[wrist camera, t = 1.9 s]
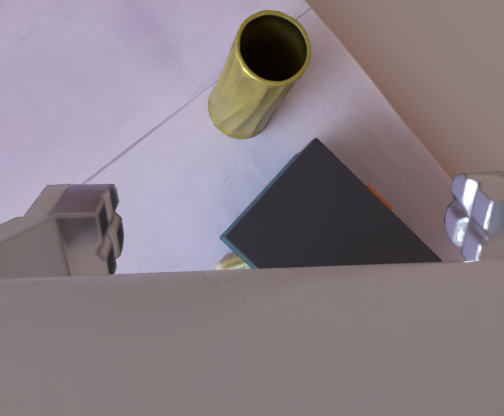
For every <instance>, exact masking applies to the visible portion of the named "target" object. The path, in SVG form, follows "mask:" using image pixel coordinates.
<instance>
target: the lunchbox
mask: <svg viewBox="0 0 504 416" xmlns="http://www.w3.org/2000/svg"><path fill="white" fill-rule="evenodd" d="M391 210H392V207H391V206H390V205H389V204H388V203H387V202H386V201H384V200H383V199H382V198H381V197H380V196H379V195H378V194H377V193H376V192H375V191H374V190H373V189H372V188H371V187H370V186H369V185H367V186H365V185H364V184H363V183H362V182H361V181H360V180H359V179H358V178H357V177H356V176H355V175H354V174H353V173H352V172H351V171H350V170H349V169H348V168H347V167H346V166H345V165H344V164H343V163H342V162H341V161H340V160H339V159H338V158H337V157H336V156H335V155H334V154H333V153H332V152H331V151H330V150H328V149H327V148H326V147H325V146H324V145H323V144H322V143H321V142H320V141H319V140H318V139H317V138H315V139H314V140H312V141H311V142H310V143H309V144H308V145H307V146H306V147H305V148H304V150H302V151H301V152H299V153H298V154H296V155H295V156H294V157H293V158H292V159H291V160H290V161H289V163H288V164H287V165H286V166H285V167H284V168H283V169H282V170H281V171H280V172H279V173H278V175H277V176H276V177H275V178H274V179H273V180H272V181H271V182H270V183H269V184H268V185H267V186H266V188H265V189H264V190H263V191H262V192H261V193H260V194H259V195H258V196H257V197H256V198H255V199H254V201H253V202H252V203H251V204H250V205H249V206H248V207H247V208H246V209H245V210H244V211H243V213H242V214H241V215H240V216H239V217H238V218H237V219H236V220H235V221H234V222H233V223H232V224H231V226H230V227H229V228H228V229H227V230H226V231H225V232H224V233H223V234H222V235H221V236H220V239H221V240H222V241H223V242H224V243H225V244H226V245H227V246H228V247H229V248H230V249H231V250H233V251H234V252H235V253H236V254H237V255H238V256H239V257H240V258H241V259H242V260H243V261H244V262H245V263H247V264H248V265H249V266H250V267H251V268H252V269H266V268H293V267H320V266H346V265H373V264H400V263H427V262H442V260H441V259H440V258H439V257H438V256H437V255H436V254H435V253H434V252H433V251H432V250H431V249H430V248H429V247H428V246H427V245H426V244H424V243H423V242H422V241H421V240H420V239H419V238H418V237H417V236H416V235H415V234H414V233H413V232H412V231H411V230H410V229H409V228H408V227H407V226H406V225H405V224H404V223H403V222H402V221H401V220H400V219H399V218H398V217H397V216H396V215H395V214H394V213H393V212H392V211H391Z"/></svg>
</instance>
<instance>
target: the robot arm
mask: <svg viewBox="0 0 504 416" xmlns="http://www.w3.org/2000/svg"><path fill="white" fill-rule="evenodd" d="M450 192H451V194H452V196H453V197H454V200H453V201H452V202H451V203H450V204H449V205H448V206H447V207H446V212H445V218H444V223H445V231H446V234H447V237H448V239H449V240H450V241H451V243H452V244H454V245H456V246H458V247H460V248H462V250H461V254H460V255H461V256H462V257H463V258H464V260H465V261H454V262H427V263H400V264H373V265H346V266H320V267H293V268H266V269H239V270H212V271H185V272H159V273H132V274H115V271H116V268H117V266H116V260H115V259H116V258H118V257H119V256H121V252H122V249H123V240H124V233H123V223H122V218H121V217H120V216H119V215H118V214H117V213H116V212H115V211H116V208H117V206H118V203H119V199H118V194H117V189H116V187H115V185H114V184H72V185H70V184H58V185H47V186H46V187H45V188H44V190H43V191H42V192H41V194H40V195H39V196H38V198H37V199H36V200H35V202H34V203H33V204H32V206H31V207H30V208H29V210H28V211H27V212H26V214H25V215H24V216H23V217H16V218H13V219H11V220H9V221H7V222H5V223H2V224H0V416H504V172H501V171H496V172H478V173H461V174H458V175H456V176H455V177H454V179H453V181H452V185H451V189H450Z"/></svg>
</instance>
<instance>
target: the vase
mask: <svg viewBox="0 0 504 416" xmlns="http://www.w3.org/2000/svg"><path fill="white" fill-rule="evenodd" d="M310 58H311V45H310V41H309V38H308V36H307V33H306V31H305V29H304V28H303V27H302V25H301V24H300V23H299V22H298V21H297V20H295V19H294V18H292V17H290V16H288V15H287V14H284V13H282V12H279V11H272V10H264V11H260V12H258V13H256V14H253V15H251V16H250V17H248V18H247V19H246V20H245V21H244V22H243V23H242V24H241V26H240V28H239V29H238V32H237V34H236V37H235V39H234V42H233V45H232V47H231V50H230V53H229V56H228V58H227V61H226V64H225V66H224V69H223V71H222V73H221V76H220V78H219V80H218V82H217V84H216V86H215V88H214V89H213V91H212V93H211V95H210V97H209V103H208V110H209V114H210V117H211V120H212V122H213V123H214V125H215V126H216V127H217V128H218V129H219V130H220V131H221V132H222V133H224V134H226V135H228V136H230V137H232V138H238V139H246V138H251V137H253V136H255V135H257V134H259V133H260V132H261V131H263V130H264V128H265V127H266V126H267V124H268V122H269V120H270V117H271V116H272V115H273V113H274V112H275V111H276V109H277V108H278V106H279V105H280V103H281V102H282V100H283V99H284V98H285V96H286V95H287V93H288V92H289V91H290V89H291V88H292V86H293V85H294V83H295V82H296V81H297V80H298V79H299V78H300V77H301V76H302V75H303V73H304V71H305V70H306V68H307V66H308V64H309V62H310Z"/></svg>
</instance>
